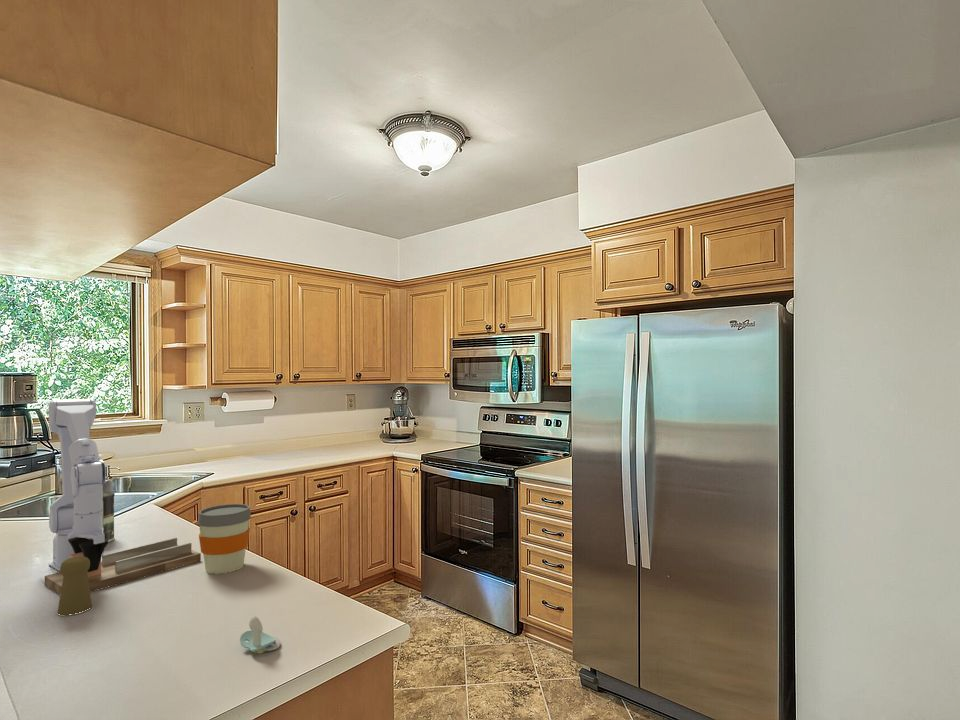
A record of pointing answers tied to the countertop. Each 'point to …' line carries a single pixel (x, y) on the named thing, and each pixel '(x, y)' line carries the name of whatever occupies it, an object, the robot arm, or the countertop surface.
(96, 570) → the block
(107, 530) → the coffee can
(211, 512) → the reusable coffee cup
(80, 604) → the cork
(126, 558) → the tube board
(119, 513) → the countertop surface
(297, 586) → the countertop surface
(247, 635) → the pacifier
